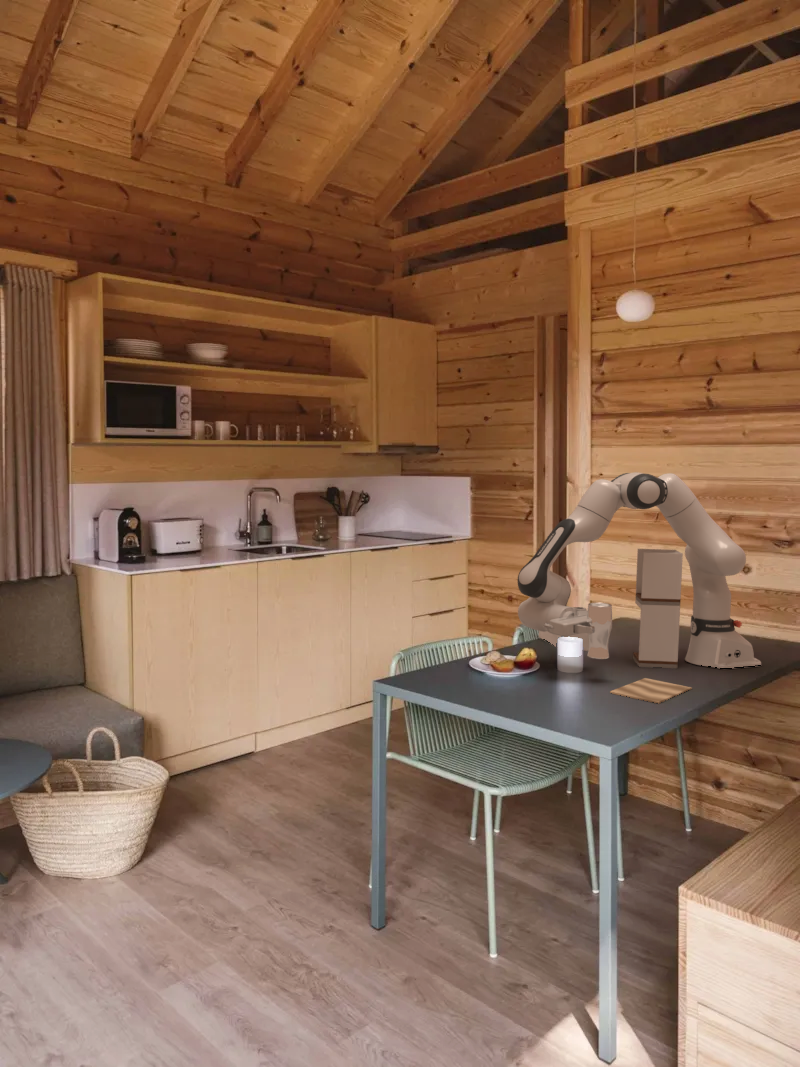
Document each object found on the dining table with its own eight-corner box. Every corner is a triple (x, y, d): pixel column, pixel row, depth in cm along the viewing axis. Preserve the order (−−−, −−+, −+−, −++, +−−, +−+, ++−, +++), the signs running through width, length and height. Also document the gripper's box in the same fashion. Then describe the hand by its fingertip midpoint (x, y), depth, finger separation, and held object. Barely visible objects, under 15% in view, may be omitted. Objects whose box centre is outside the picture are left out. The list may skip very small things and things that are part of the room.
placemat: (644, 679, 249) (644, 678, 249) (691, 689, 240) (691, 687, 240) (609, 693, 235) (610, 691, 235) (658, 703, 225) (658, 702, 225)
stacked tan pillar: (670, 660, 274) (675, 549, 271) (677, 668, 263) (682, 553, 260) (633, 658, 275) (637, 548, 272) (638, 666, 265) (643, 552, 261)
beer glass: (613, 655, 248) (615, 603, 247) (606, 660, 242) (608, 607, 241) (590, 652, 252) (591, 601, 250) (582, 657, 246) (583, 605, 244)
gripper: (540, 614, 249) (578, 622, 239) (586, 606, 262) (624, 613, 251) (539, 636, 250) (577, 644, 239) (585, 627, 263) (623, 635, 252)
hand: (601, 628), depth 245 cm, fingers closed on beer glass, 6 cm apart
